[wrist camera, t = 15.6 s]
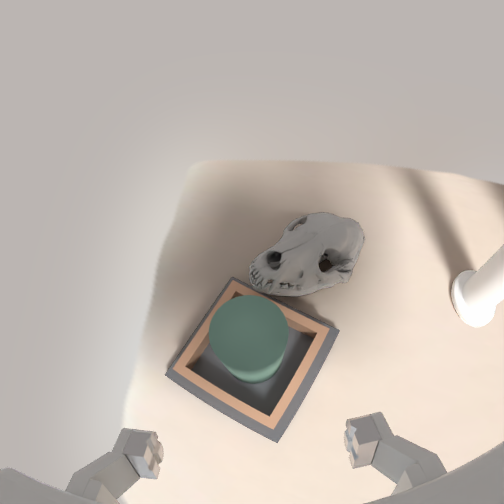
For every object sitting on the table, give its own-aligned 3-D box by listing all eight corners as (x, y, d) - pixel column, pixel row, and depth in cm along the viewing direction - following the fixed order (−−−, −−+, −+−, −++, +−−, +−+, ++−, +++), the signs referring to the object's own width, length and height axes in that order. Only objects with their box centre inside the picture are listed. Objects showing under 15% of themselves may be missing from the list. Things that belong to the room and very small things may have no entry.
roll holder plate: (337, 333, 26) (344, 323, 24) (277, 442, 21) (278, 445, 19) (233, 280, 30) (229, 266, 27) (168, 376, 25) (157, 371, 22)
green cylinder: (292, 346, 25) (302, 317, 18) (263, 394, 23) (262, 385, 16) (244, 320, 27) (235, 282, 20) (214, 365, 24) (193, 344, 18)
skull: (388, 253, 28) (343, 255, 18) (329, 304, 32) (262, 327, 23) (342, 198, 31) (278, 176, 22) (291, 251, 35) (217, 252, 26)
